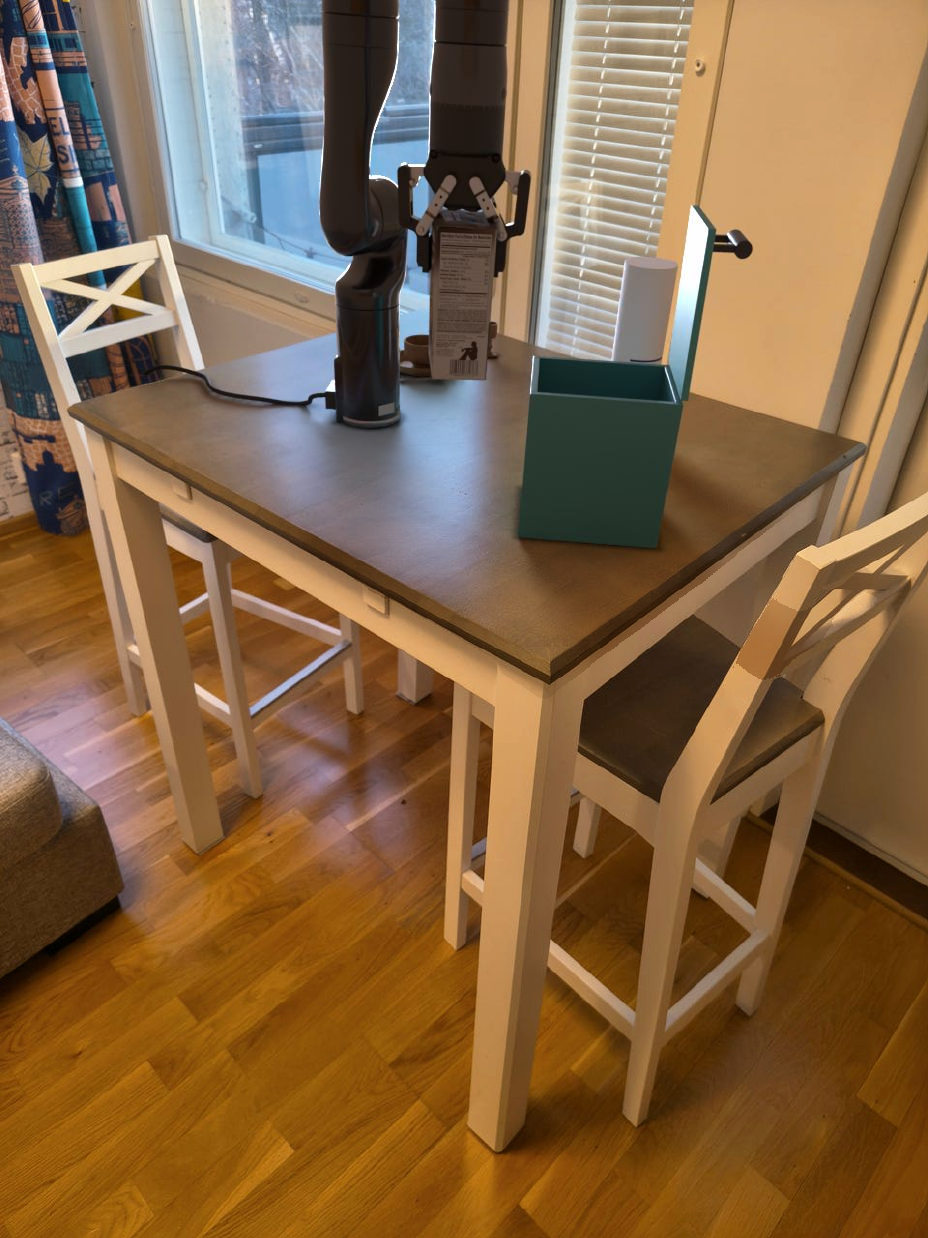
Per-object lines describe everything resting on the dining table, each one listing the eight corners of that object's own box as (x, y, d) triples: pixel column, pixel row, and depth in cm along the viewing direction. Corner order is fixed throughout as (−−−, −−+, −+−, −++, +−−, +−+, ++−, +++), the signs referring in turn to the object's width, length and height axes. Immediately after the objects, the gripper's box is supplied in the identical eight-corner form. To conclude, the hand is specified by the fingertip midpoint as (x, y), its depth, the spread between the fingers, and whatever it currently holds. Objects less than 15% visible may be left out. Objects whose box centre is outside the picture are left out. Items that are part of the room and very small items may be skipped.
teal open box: (517, 537, 106) (530, 393, 96) (521, 488, 118) (533, 355, 108) (656, 548, 106) (683, 404, 96) (647, 498, 117) (670, 364, 107)
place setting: (387, 351, 163) (387, 318, 160) (495, 352, 165) (497, 320, 162) (391, 383, 149) (391, 348, 145) (509, 384, 151) (511, 349, 148)
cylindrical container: (647, 448, 131) (678, 270, 117) (599, 442, 132) (623, 265, 118) (649, 430, 136) (678, 259, 122) (602, 425, 137) (626, 254, 123)
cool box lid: (708, 228, 86) (765, 231, 85) (691, 205, 97) (741, 206, 97) (680, 400, 95) (731, 403, 95) (668, 360, 107) (713, 363, 106)
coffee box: (426, 353, 106) (430, 206, 97) (480, 355, 107) (489, 209, 97) (430, 380, 98) (435, 223, 89) (487, 381, 99) (498, 226, 90)
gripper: (541, 99, 90) (527, 270, 99) (401, 91, 91) (400, 261, 100) (539, 105, 84) (524, 286, 93) (389, 96, 85) (389, 277, 94)
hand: (460, 273), depth 97 cm, fingers closed on coffee box, 7 cm apart
